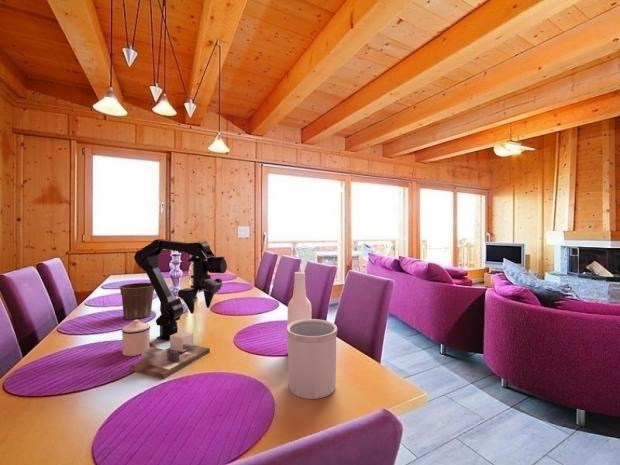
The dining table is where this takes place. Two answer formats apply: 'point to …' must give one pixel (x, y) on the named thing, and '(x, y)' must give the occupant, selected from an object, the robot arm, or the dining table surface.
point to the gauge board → (169, 372)
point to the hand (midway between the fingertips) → (200, 310)
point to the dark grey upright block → (174, 356)
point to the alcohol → (299, 301)
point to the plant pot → (137, 300)
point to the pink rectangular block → (181, 341)
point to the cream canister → (135, 338)
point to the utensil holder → (312, 358)
